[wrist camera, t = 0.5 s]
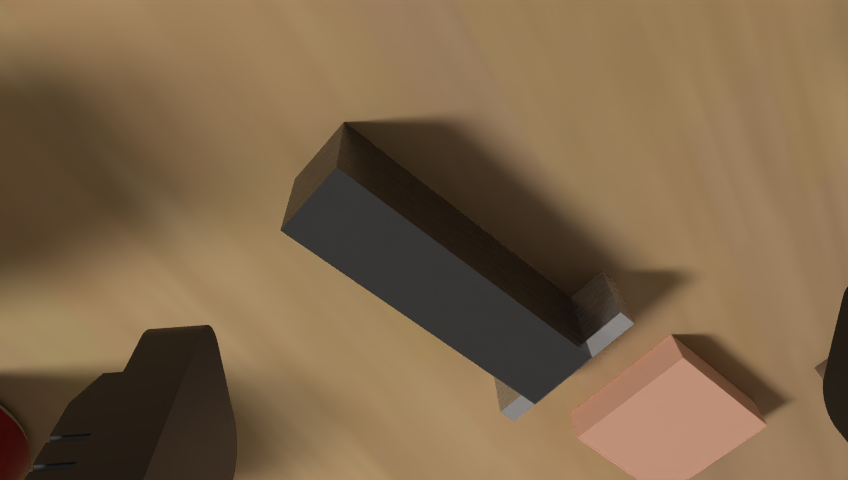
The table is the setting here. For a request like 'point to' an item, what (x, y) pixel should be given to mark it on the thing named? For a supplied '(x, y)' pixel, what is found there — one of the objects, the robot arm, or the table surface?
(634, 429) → the tile
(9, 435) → the soda can
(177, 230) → the table surface
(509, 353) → the long dark grey beam
